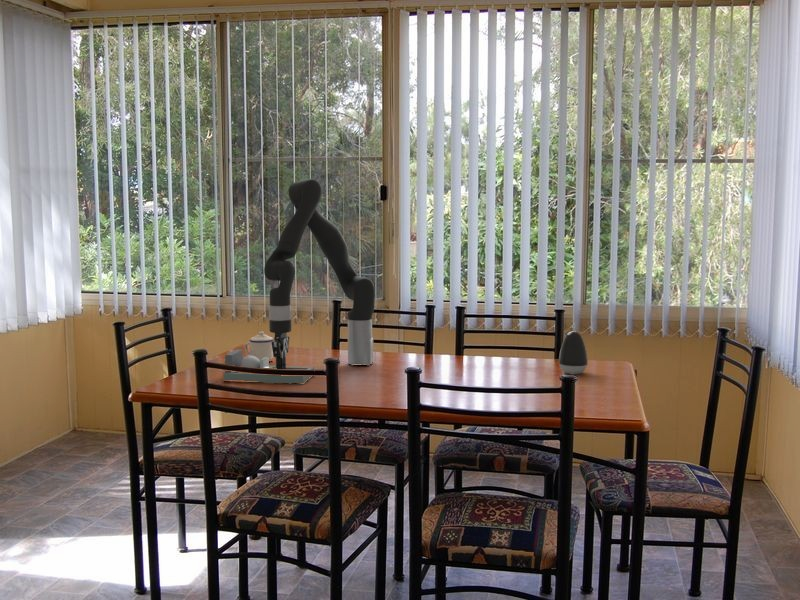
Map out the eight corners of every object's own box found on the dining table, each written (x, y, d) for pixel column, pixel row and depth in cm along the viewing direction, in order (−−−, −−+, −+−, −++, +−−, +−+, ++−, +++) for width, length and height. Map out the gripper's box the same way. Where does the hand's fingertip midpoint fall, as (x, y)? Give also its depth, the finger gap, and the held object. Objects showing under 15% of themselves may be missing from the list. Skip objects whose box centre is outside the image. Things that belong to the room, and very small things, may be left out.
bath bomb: (236, 380, 286) (236, 357, 285) (240, 376, 294) (240, 353, 293) (260, 380, 286) (259, 357, 285) (263, 375, 294) (263, 353, 293)
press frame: (314, 375, 294) (313, 350, 293) (303, 384, 280) (302, 358, 279) (238, 373, 298) (237, 348, 297) (223, 381, 284) (222, 355, 283)
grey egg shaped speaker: (577, 369, 305) (578, 328, 303) (592, 374, 295) (594, 332, 294) (553, 371, 302) (553, 329, 300) (567, 376, 292) (568, 334, 290)
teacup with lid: (277, 360, 324) (277, 330, 322) (267, 364, 315) (266, 334, 314) (250, 358, 328) (249, 329, 326) (238, 362, 319) (238, 332, 318)
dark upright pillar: (288, 376, 291) (287, 344, 290) (283, 380, 285) (282, 347, 284) (265, 375, 292) (265, 344, 291) (260, 379, 286) (259, 347, 285)
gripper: (285, 321, 279) (285, 371, 280) (296, 315, 292) (297, 364, 294) (263, 320, 280) (264, 371, 281) (275, 315, 293) (276, 363, 295)
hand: (281, 367), depth 288 cm, fingers closed on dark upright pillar, 3 cm apart
